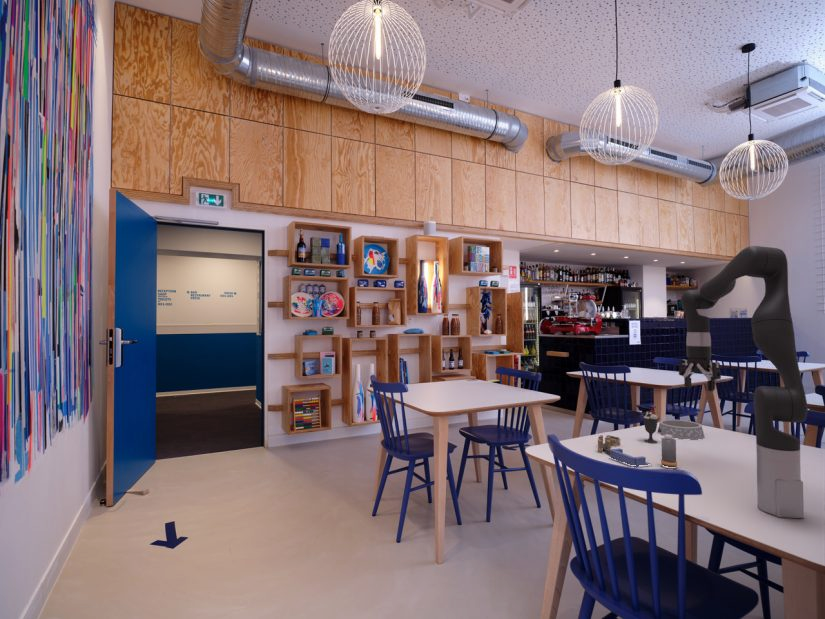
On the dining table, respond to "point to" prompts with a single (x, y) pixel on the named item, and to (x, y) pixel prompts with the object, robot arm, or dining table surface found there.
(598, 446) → the clip
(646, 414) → the sundae
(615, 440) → the tan wooden end block
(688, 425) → the dog bowl
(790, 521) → the dining table surface
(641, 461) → the holder
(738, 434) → the dining table surface
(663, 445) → the grey piece
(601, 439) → the clip
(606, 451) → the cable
